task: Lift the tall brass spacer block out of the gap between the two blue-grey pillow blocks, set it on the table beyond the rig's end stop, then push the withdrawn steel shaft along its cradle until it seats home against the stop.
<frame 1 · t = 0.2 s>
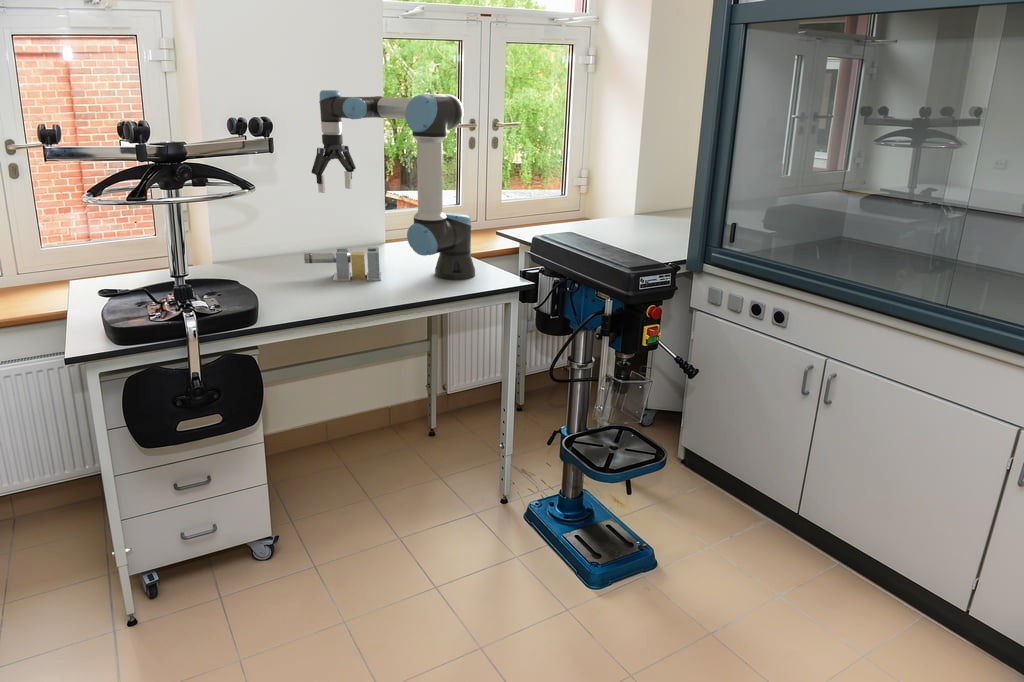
hand: (335, 190, 284), 27 cm above the table, fingers open, 13 cm apart
spacer: (358, 277, 270), on the table
rig: (357, 277, 270), on the table
shaft: (327, 257, 266), point 8 cm above the table, slide at 0.0 cm
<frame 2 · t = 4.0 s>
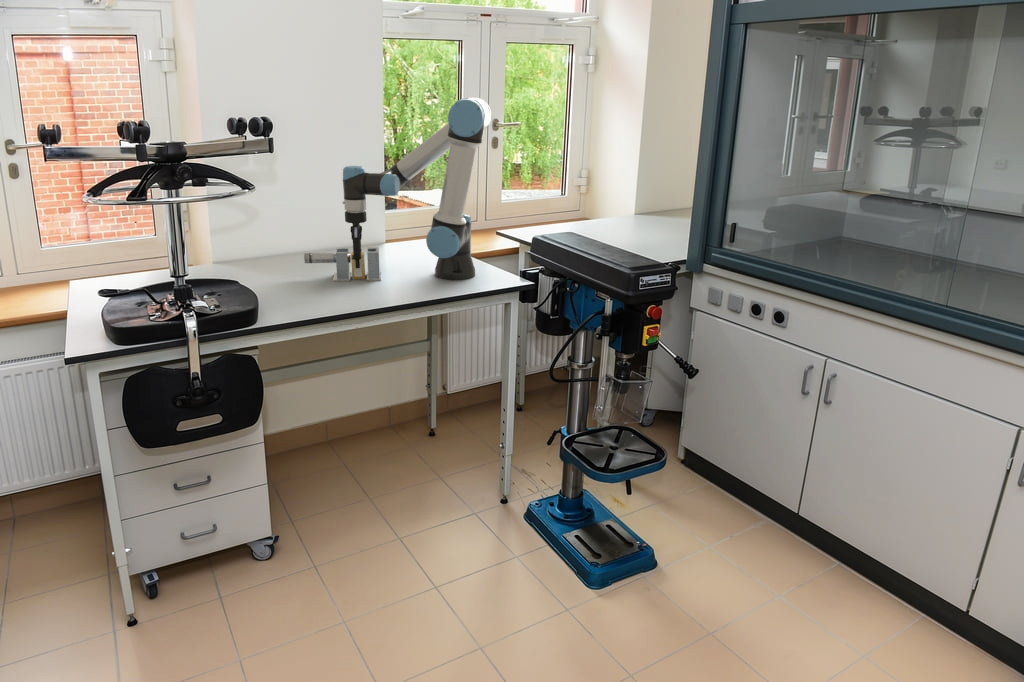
hand: (358, 274, 270), 1 cm above the table, fingers closed on spacer, 4 cm apart
spacer: (358, 277, 270), on the table, touching gripper
everything else where it was.
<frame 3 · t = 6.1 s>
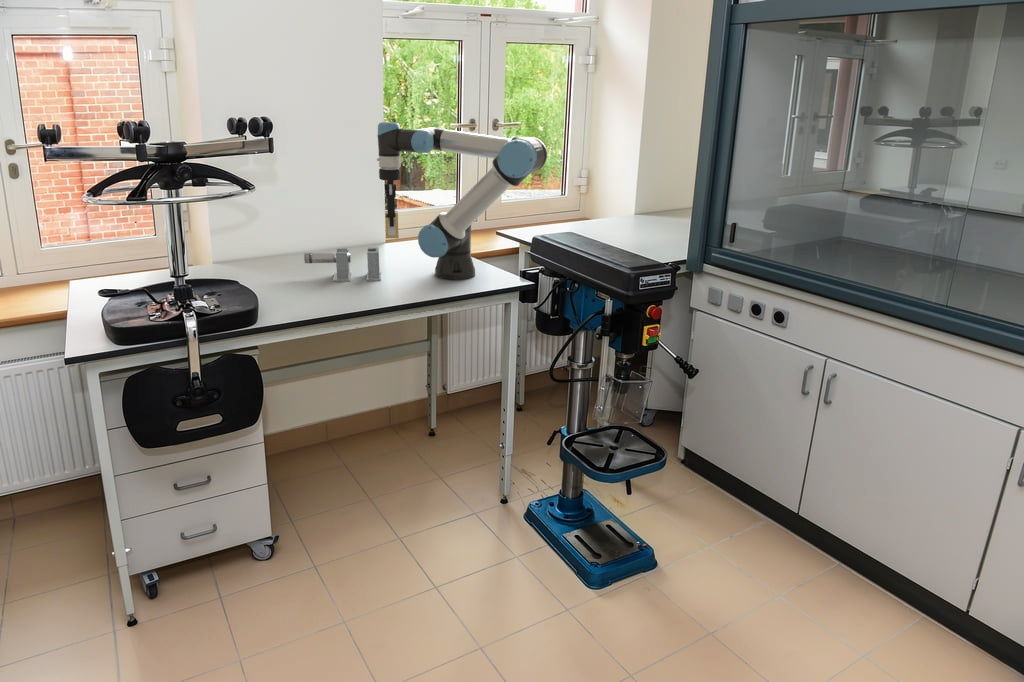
hand: (391, 233, 266), 16 cm above the table, fingers closed on spacer, 4 cm apart
spacer: (392, 236, 267), point 15 cm above the table, touching gripper
everything else where it was.
when the fingers open (3 cm above the table, at t = 8.3 s): spacer drops 2 cm, on the table.
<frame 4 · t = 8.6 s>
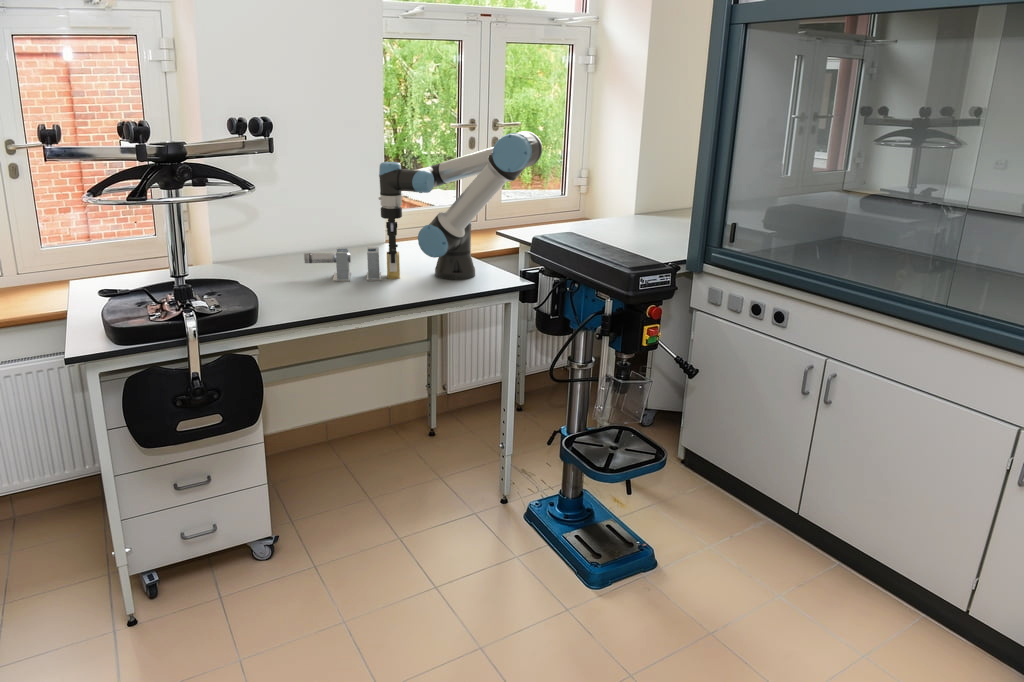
hand: (393, 268, 271), 3 cm above the table, fingers open, 8 cm apart
spacer: (393, 277, 272), on the table
everything else where it was.
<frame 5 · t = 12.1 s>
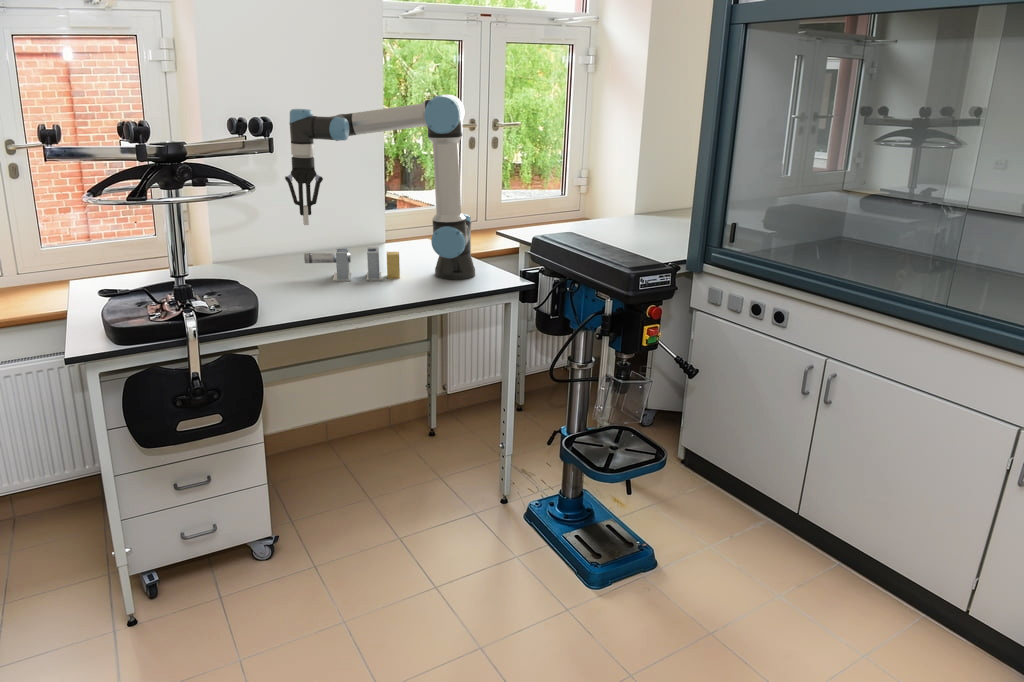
hand: (306, 224, 261), 20 cm above the table, fingers closed
nothing on the table moved.
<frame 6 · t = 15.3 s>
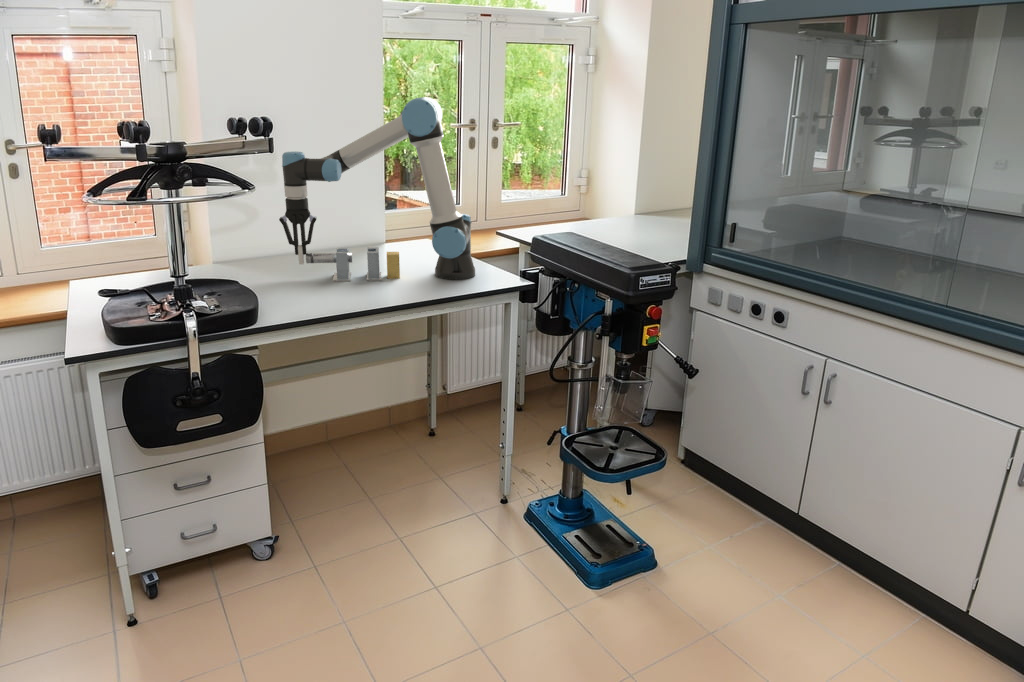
hand: (301, 263, 265), 6 cm above the table, fingers closed
shaft: (329, 257, 266), point 8 cm above the table, slide at 0.6 cm, touching gripper
everything else where it was.
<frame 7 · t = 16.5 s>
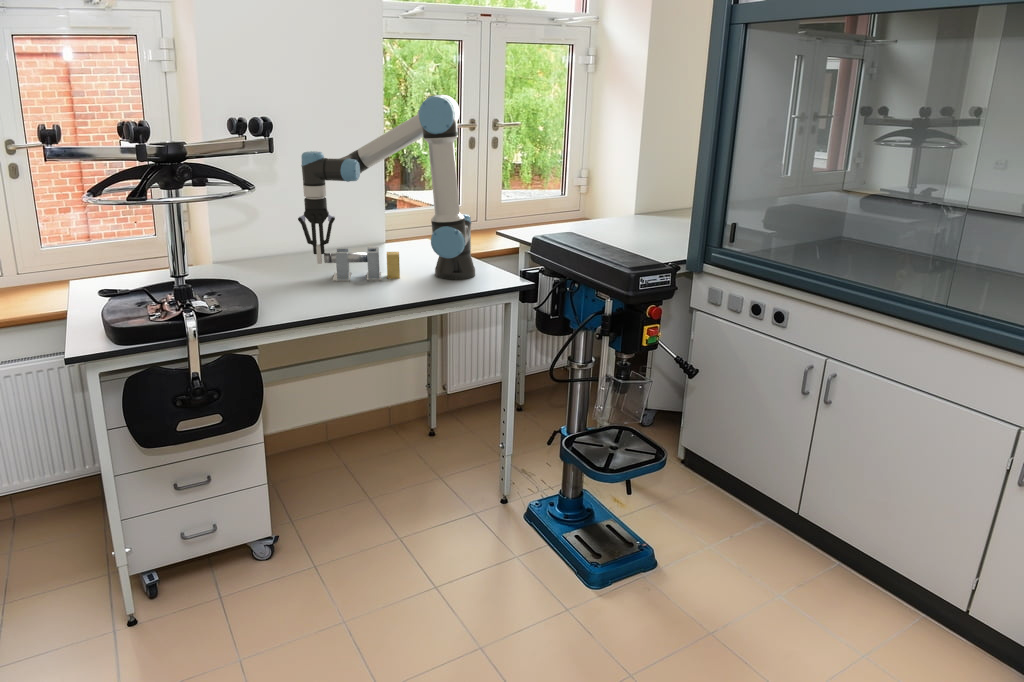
hand: (319, 262, 266), 6 cm above the table, fingers closed
shaft: (347, 257, 267), point 8 cm above the table, slide at 6.9 cm, touching gripper
everything else where it was.
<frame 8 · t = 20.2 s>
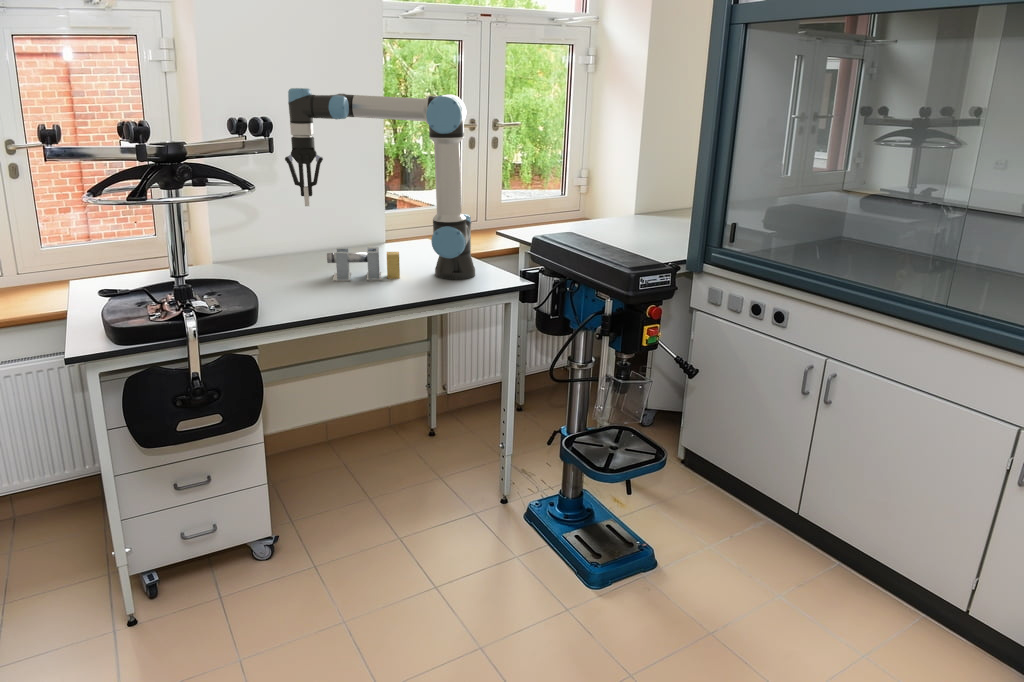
hand: (307, 205, 258), 26 cm above the table, fingers closed
shaft: (350, 257, 267), point 8 cm above the table, slide at 7.9 cm
everything else where it was.
at the end: shaft slide at 7.9 cm; spacer inside the target area (0.1 cm from its centre), on the table; spacer tilted 0° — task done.
